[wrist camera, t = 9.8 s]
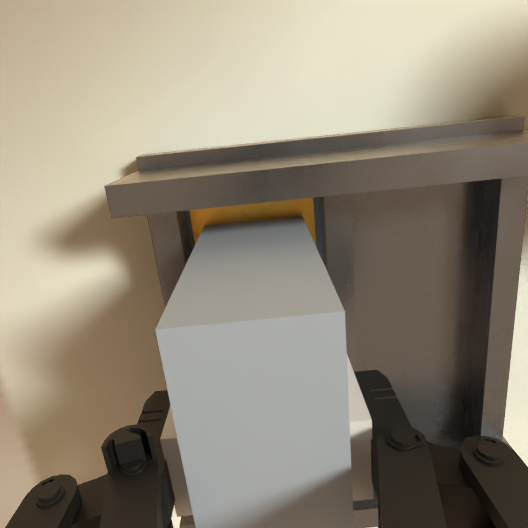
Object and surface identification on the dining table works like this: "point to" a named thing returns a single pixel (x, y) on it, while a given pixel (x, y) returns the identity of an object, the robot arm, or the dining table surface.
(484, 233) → the rack
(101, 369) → the dining table surface
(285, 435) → the block
